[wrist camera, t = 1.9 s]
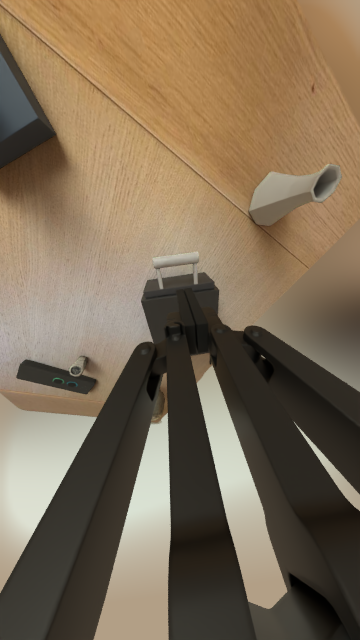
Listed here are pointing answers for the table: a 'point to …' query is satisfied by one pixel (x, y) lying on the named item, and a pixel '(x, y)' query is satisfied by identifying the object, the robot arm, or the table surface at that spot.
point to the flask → (291, 193)
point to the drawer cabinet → (173, 310)
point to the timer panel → (18, 112)
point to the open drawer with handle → (178, 282)
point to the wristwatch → (78, 366)
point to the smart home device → (54, 377)
